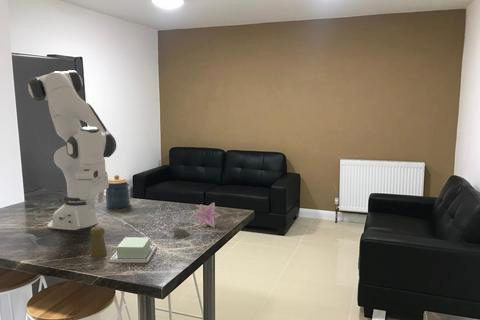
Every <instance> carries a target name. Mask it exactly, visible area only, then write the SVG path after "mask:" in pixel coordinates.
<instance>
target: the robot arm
mask: <svg viewBox="0 0 480 320" xmlns="http://www.w3.org/2000/svg"><path fill="white" fill-rule="evenodd" d="M83 85H84V84H83V79H82V76H81V75H80V74H79V73H78V72H77V71H76V70H67V71H53V72H50V73H48V74H44V75H40V76H35V77H33V78H30V79H29V81H28V87H27V89H28V93H29V95H30V96H31V98H33V99H34V101H36V102H45V101H47V104H48V110H49V114H50V117H51V120H52V123H53V127H54V129H55V133H56V135H58V136H59V137H60V138H62V139H63V140H64V143H66V145H63V146H62V147H60V148H58V149H57V150H56V151H55V152H54V155H53V162H54V164H55V165H56V167H57V168H59V169H60V170H61V172H62V173H63V175H64V178H65V181H66V189H67V190H66V191H67V195H66V196H65V197H64V198H63V199H62V202H64V204H63V205H61V206H60V207H59V208H58V209H57V210H55V211H54V212H53V214H52V217H51V221H49V222H48V223H47V228H48V229H55V230H56V229H57V230H65V231H66V230H68V231H77V230H80V229H85V228H89V227H92V226H93V227H94V225H95V226H96V225H97V224H98V223H99V220H98V217H97V214H96V210H95V197H96V196H98V197H97V203H99V204H100V203H101V204H102V203H103V202H104V196H105V191H106V189H107V188H108V186H109V182H108V180H109V176H108V172H107V170H106V169H107V168H106V160H105V158H110V157H111V156H112V155H113V154H114V153H115V152H116V149H117V141H116V138H115V137H114V136H113V134H111V132H110V131H109V130H108V129H107V127H106V126H105V125H104V123H103V121H102V120H101V118H100V117H99V115H98V113H97V112H96V111H95V109H94V108H93V107H92V105H91V104H89V103H88V102H86V101H85V100H83V98H81V97H80V96H79V94H80V93H81V92H82V91H83ZM81 121H83V122H85V123H86V124H87V126H82V124H81Z"/></svg>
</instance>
